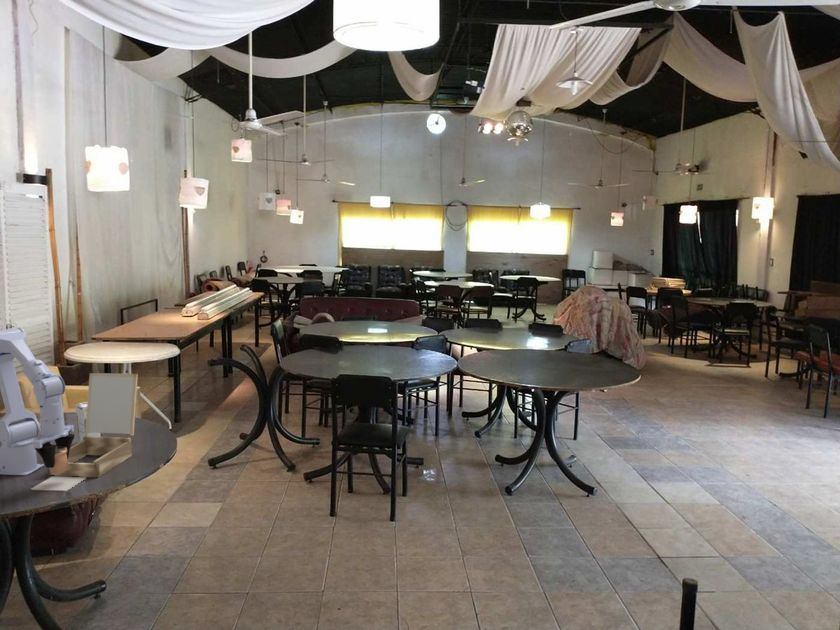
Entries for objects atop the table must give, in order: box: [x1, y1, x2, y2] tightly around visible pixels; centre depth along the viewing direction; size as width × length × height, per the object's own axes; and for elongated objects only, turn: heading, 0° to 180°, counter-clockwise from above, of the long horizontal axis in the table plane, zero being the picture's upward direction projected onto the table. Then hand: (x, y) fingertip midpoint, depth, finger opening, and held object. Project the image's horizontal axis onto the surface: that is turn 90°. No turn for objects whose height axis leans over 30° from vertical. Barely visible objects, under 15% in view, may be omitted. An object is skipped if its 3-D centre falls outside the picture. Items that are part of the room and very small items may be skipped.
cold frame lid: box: [85, 372, 139, 436], centre depth 209 cm, size 17×20×1 cm
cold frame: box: [47, 436, 133, 478], centre depth 199 cm, size 16×18×6 cm
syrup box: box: [75, 401, 103, 443], centre depth 217 cm, size 6×6×14 cm
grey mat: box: [30, 476, 87, 492], centre depth 185 cm, size 11×9×1 cm
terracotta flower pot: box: [50, 446, 69, 473], centre depth 184 cm, size 6×6×6 cm
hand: (57, 463), depth 184 cm, fingers closed on terracotta flower pot, 5 cm apart
